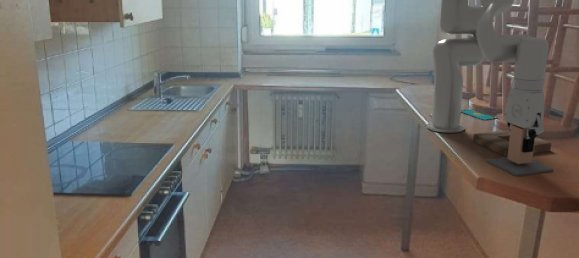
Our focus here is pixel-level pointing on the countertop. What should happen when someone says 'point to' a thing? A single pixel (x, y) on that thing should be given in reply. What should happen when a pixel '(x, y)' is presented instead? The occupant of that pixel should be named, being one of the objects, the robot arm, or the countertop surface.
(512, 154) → the block
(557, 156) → the countertop surface
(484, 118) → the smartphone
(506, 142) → the pocket board
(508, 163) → the mat
